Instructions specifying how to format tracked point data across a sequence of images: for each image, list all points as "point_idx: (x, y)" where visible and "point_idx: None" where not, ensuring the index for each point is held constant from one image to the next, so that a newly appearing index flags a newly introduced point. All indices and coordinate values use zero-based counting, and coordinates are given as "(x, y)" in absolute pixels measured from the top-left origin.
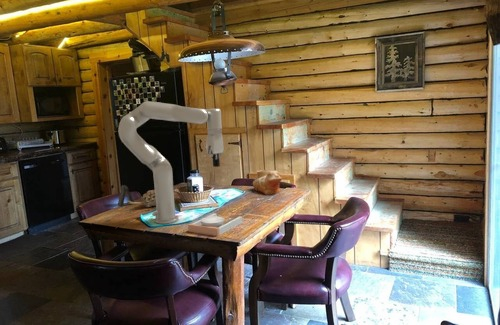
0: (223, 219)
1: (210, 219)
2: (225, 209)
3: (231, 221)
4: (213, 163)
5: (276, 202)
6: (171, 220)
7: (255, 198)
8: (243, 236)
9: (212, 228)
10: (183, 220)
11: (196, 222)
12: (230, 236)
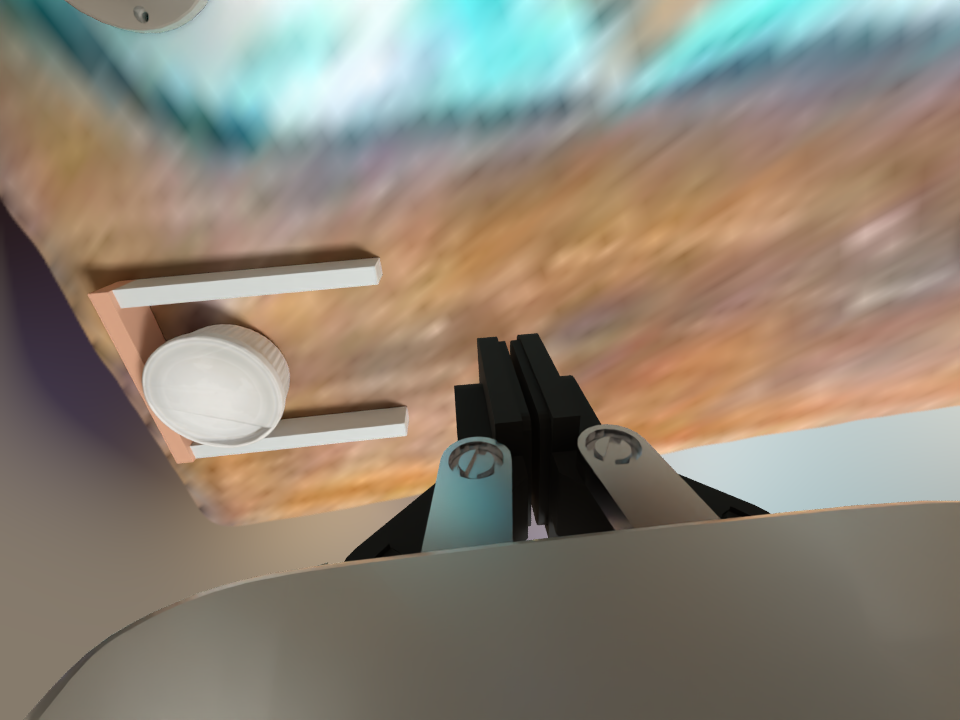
0: (260, 439)
1: (205, 390)
2: (582, 182)
3: (315, 439)
4: (455, 399)
5: (793, 369)
6: (106, 12)
7: (890, 203)
8: (270, 512)
9: (166, 439)
10: (223, 70)
11: (167, 297)
12: (233, 479)
